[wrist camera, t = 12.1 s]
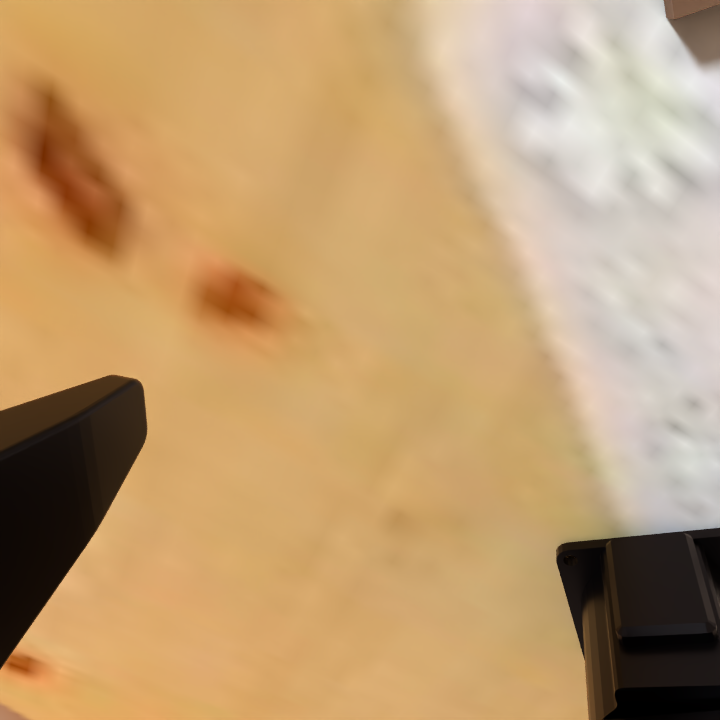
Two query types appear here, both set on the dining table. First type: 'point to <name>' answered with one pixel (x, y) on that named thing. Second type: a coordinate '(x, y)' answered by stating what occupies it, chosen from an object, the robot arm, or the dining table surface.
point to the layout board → (686, 7)
